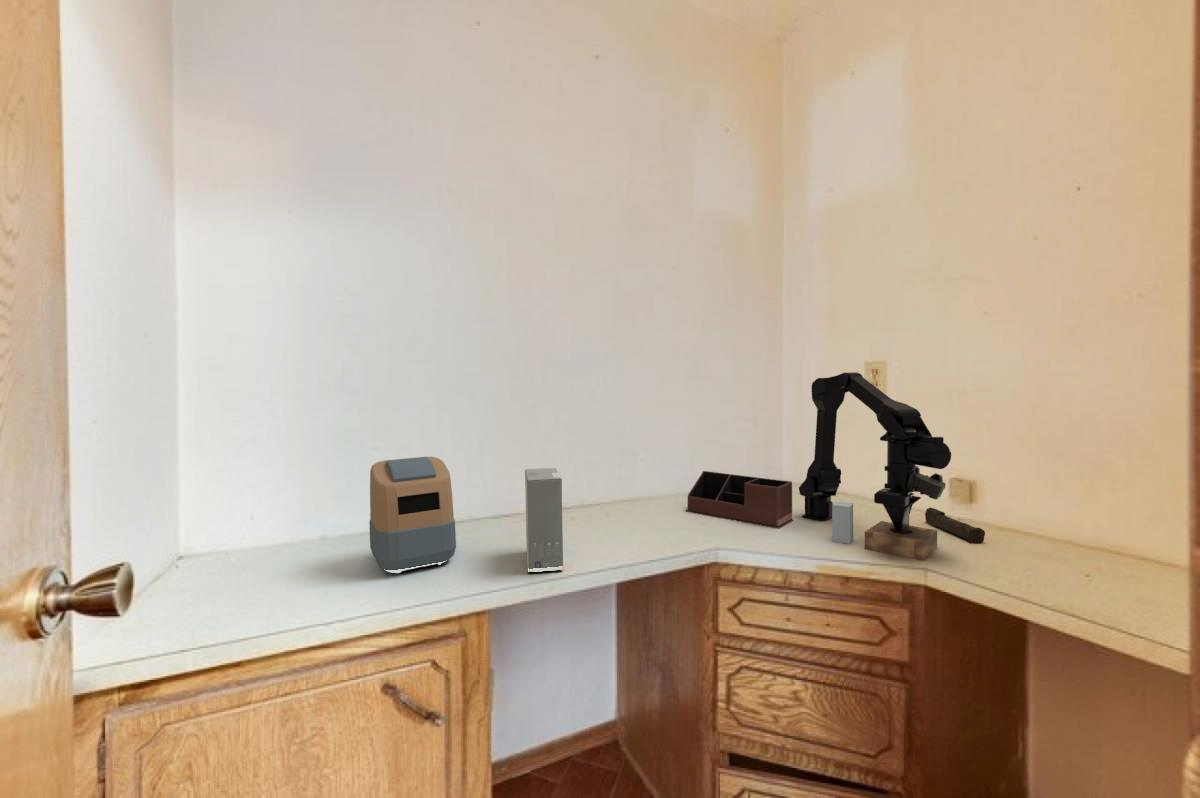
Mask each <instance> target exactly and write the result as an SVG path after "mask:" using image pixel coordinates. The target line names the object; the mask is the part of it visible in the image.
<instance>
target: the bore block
mask: <svg viewBox="0 0 1200 798" xmlns="http://www.w3.org/2000/svg"><path fill="white" fill-rule="evenodd" d="M937 548H938V529H933V528H927V527H920V526H914V525H909V534H900V533H894V532H893V523H892V521H884V520H881V521H879V522H877V523H876V524H874V525H873V526H870V528H869V529H866V530H865V531H864V549H866V550H868V551H869V550H870V551H875V552H879V553H884V554H888V555H894V556H899V557H905V558H909V559H915V560H919V561H925V560H926V559H927V558H928V557H929V556H930V555H931V554H932V553H933V552H934V551H935V550H936V549H937Z"/></svg>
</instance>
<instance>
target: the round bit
mask: <svg viewBox="0 0 1200 798" xmlns="http://www.w3.org/2000/svg"><path fill="white" fill-rule="evenodd" d="M909 526H910V515H909V507H908V508H906V510H905V515H904V521H903V526H902V530H901V531H898V530H896V529H895V527H894V525H893V532H894V533H900V534H909Z"/></svg>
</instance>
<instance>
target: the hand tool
mask: <svg viewBox="0 0 1200 798" xmlns="http://www.w3.org/2000/svg"><path fill="white" fill-rule="evenodd" d="M924 517H925V519H924V520H925V522H926V523H927V524H928V525H929V526H931V527H933V528H935V529H942V530H944V531H947V532H948V533H949V532H950V533H952V534H954V535H956V536H958V537H961V538H963V539H965V540H968V543H969V544H981V543H983V542H984V540H985V537H986V532H985V530H984V529H982V528H981V527H975V526H973V525H970V524H968V523H965V522H961V521H959V520H957V519H954V518H952V517H949V516H947V515H946V512H944V511H941V510H939V509H938V508H934V507H927V508H926V510H925V512H924Z"/></svg>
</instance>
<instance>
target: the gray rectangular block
mask: <svg viewBox="0 0 1200 798" xmlns="http://www.w3.org/2000/svg"><path fill="white" fill-rule="evenodd" d="M831 519H832V520H831V522H832V523H831V524H832V526H831V530H832V533H831V534H832V536H831V537H832V538H831V542H834V543H840V544H841V543H842V544H848V545H851V544H852V542H853V541H854V503H853V502H852V503H851V502H845V501H844V502H843V501H834V503H833V505H832V517H831Z"/></svg>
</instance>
